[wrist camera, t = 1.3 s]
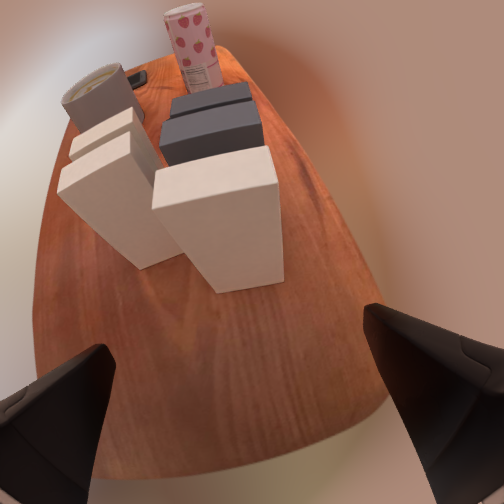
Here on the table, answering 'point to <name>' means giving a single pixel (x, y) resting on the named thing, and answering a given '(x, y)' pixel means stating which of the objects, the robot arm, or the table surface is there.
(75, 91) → the coffee mug
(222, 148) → the grey books
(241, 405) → the table surface
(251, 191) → the white book
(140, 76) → the cell phone
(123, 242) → the white books
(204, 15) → the beverage can
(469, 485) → the robot arm
